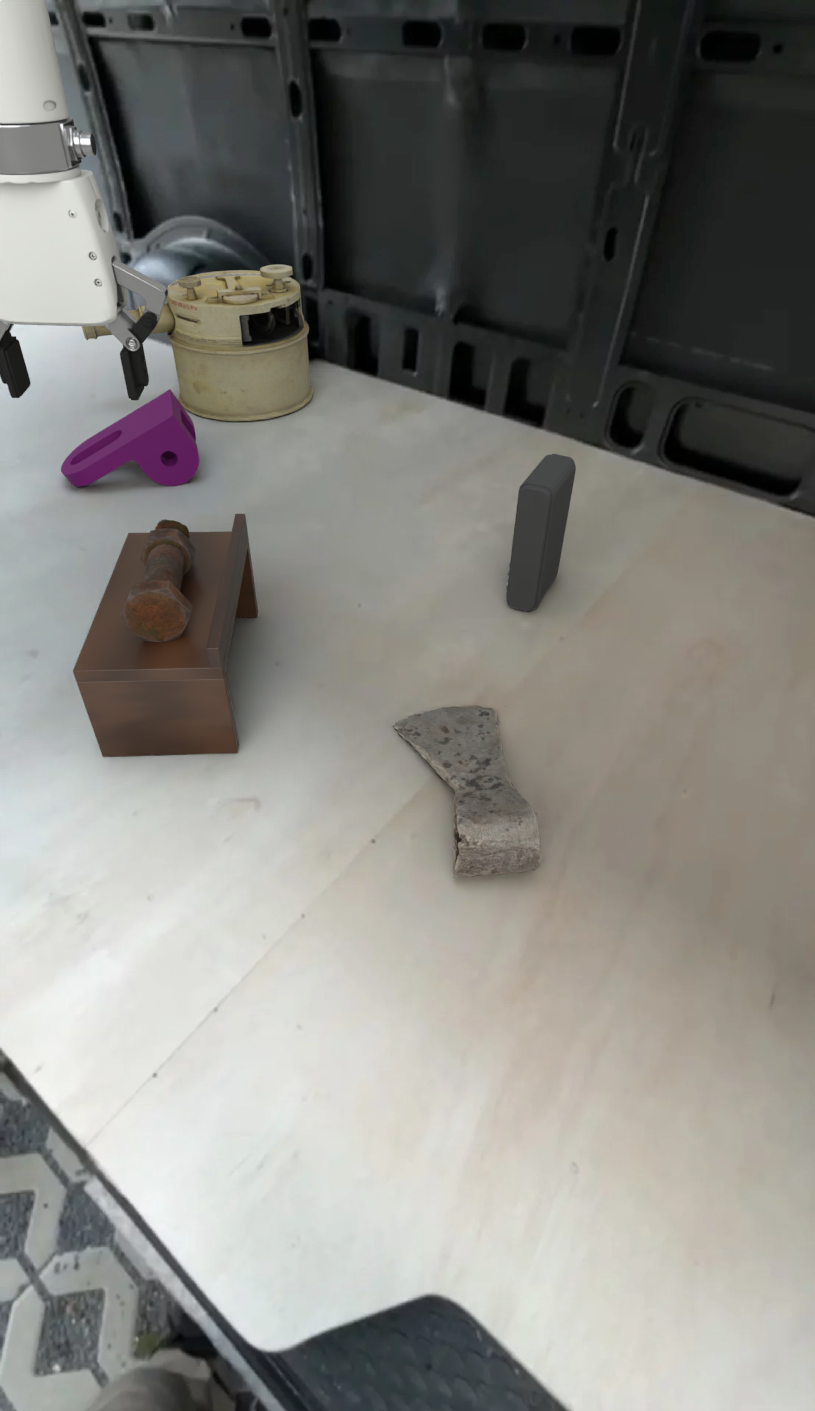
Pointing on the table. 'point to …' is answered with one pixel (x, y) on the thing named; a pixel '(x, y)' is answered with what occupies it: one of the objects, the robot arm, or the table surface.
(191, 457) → the mounting bracket
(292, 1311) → the table surface
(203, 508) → the table surface
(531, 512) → the card reader
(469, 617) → the table surface
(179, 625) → the bolt
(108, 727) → the shelf
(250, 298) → the mechanical device
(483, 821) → the axe head
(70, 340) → the table surface
